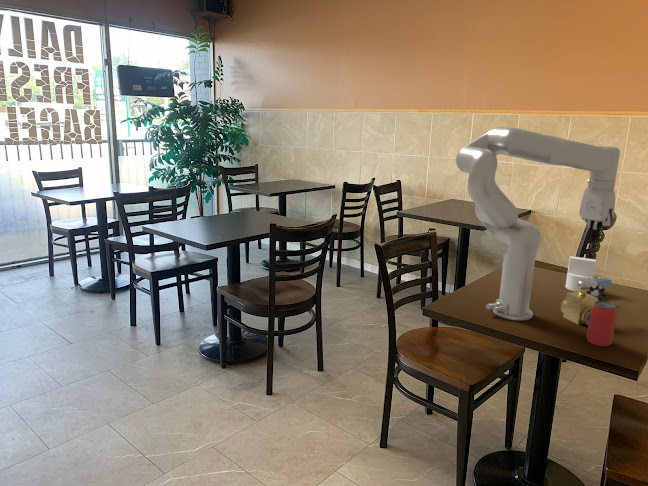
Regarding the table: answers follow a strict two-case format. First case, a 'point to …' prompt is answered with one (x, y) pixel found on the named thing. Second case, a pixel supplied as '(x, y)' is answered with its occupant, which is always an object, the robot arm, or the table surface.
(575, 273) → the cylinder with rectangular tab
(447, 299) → the table surface
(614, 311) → the beer can
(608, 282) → the lever
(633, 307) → the table surface
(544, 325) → the table surface
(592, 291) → the valve
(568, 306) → the pipe valve
